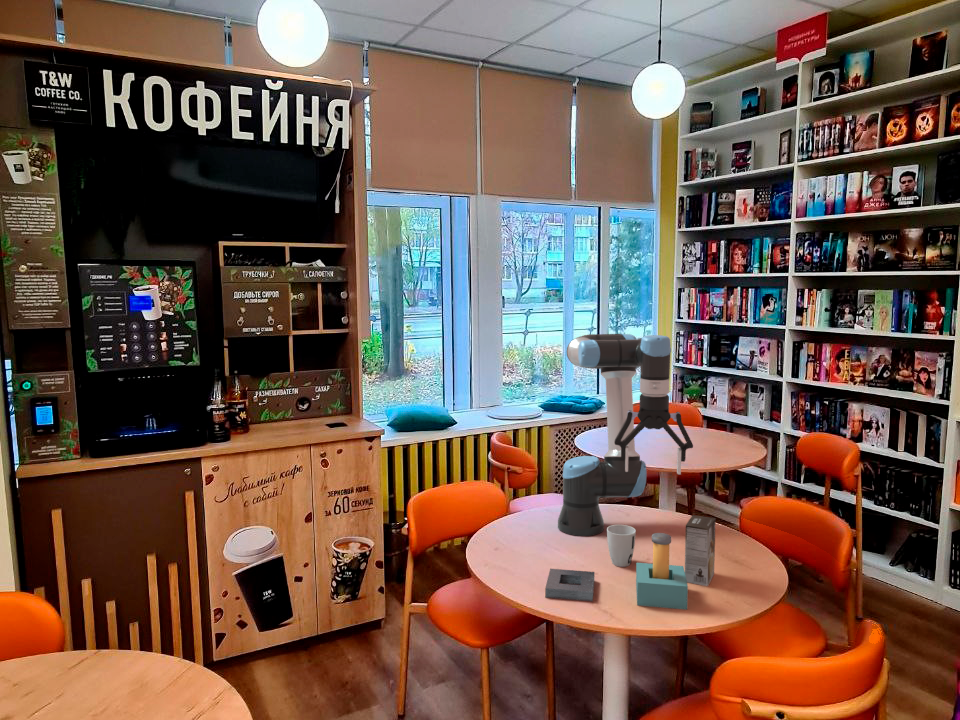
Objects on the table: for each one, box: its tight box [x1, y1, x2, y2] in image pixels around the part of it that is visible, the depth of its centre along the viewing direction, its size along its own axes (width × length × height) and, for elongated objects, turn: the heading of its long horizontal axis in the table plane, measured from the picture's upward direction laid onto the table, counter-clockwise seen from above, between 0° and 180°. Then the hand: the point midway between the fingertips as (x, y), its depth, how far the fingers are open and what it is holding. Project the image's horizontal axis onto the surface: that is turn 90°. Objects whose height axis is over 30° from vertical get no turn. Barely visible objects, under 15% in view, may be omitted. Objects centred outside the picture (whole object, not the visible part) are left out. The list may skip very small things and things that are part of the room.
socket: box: [635, 562, 689, 610], centre depth 168 cm, size 12×12×6 cm
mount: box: [545, 568, 595, 602], centre depth 173 cm, size 12×12×2 cm
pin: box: [651, 532, 672, 580], centre depth 167 cm, size 5×5×16 cm
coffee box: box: [684, 514, 717, 587], centre depth 177 cm, size 9×6×16 cm
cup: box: [606, 524, 637, 568], centre depth 188 cm, size 8×8×10 cm
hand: (652, 471), depth 176 cm, fingers open, 13 cm apart
